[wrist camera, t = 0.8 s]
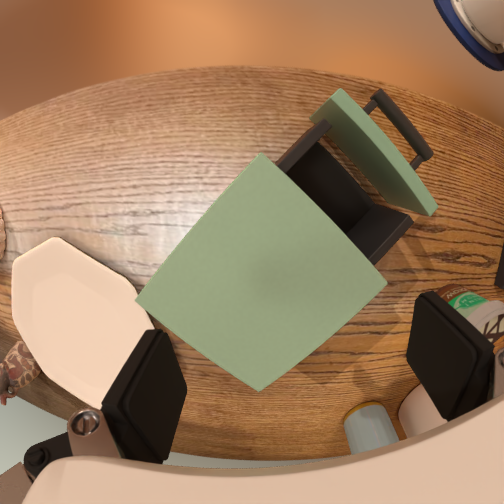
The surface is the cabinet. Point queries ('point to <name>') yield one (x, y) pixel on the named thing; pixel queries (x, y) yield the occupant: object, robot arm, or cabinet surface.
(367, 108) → the green cabinet drawer
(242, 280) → the green drawer box
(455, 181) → the cabinet surface
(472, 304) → the food container
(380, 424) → the bottle
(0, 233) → the mooncake
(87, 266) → the plate
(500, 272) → the block
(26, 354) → the figurine
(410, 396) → the can
